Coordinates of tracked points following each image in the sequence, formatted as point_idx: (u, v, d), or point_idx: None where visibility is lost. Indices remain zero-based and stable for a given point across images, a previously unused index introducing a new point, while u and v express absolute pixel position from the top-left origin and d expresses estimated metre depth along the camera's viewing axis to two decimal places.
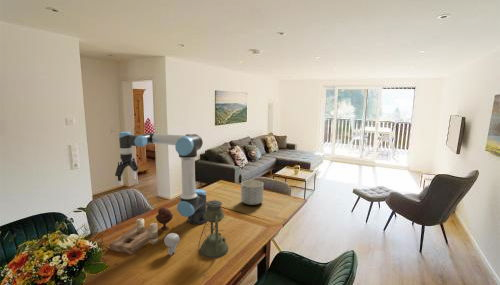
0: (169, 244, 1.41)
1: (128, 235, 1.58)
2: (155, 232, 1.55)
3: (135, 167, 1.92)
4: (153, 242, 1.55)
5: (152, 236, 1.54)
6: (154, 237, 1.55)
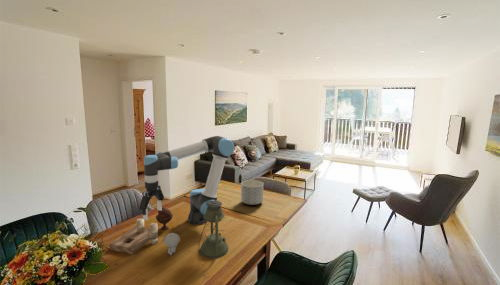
0: (169, 244, 1.41)
1: (128, 235, 1.58)
2: (155, 232, 1.55)
3: None
4: (153, 242, 1.55)
5: (152, 236, 1.54)
6: (154, 237, 1.55)
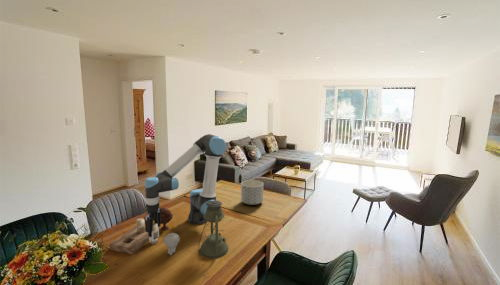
0: (169, 244, 1.41)
1: (128, 235, 1.58)
2: (155, 232, 1.55)
3: None
4: (153, 242, 1.55)
5: None
6: (154, 237, 1.55)
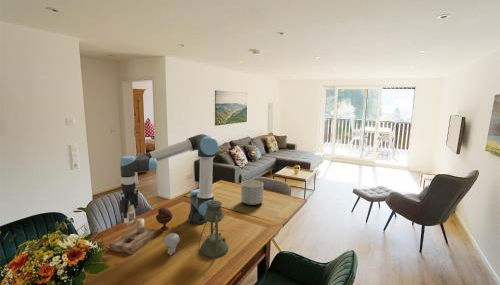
0: (169, 244, 1.41)
1: (128, 235, 1.58)
2: (131, 213, 1.48)
3: None
4: (129, 224, 1.49)
5: None
6: (130, 219, 1.48)
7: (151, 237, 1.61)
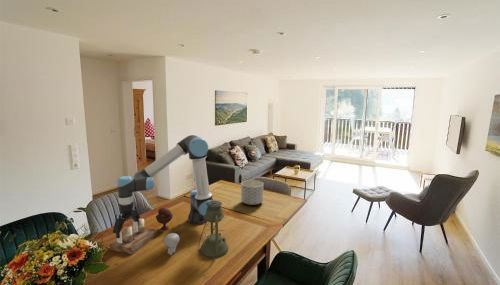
0: (169, 244, 1.41)
1: None
2: (129, 235, 1.50)
3: None
4: None
5: (125, 240, 1.50)
6: (128, 241, 1.50)
7: (151, 237, 1.61)
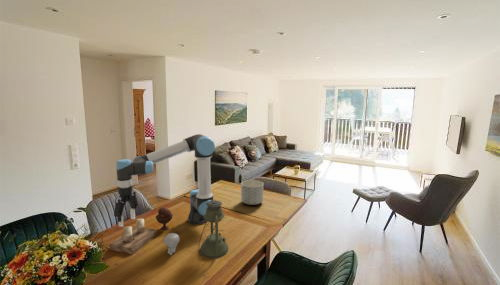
0: (169, 244, 1.41)
1: None
2: (129, 235, 1.50)
3: None
4: None
5: (125, 240, 1.50)
6: (128, 241, 1.50)
7: (151, 237, 1.61)
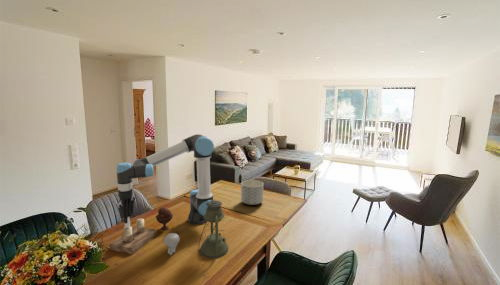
0: (169, 244, 1.41)
1: None
2: (129, 235, 1.50)
3: None
4: None
5: (125, 240, 1.50)
6: (128, 241, 1.50)
7: (151, 237, 1.61)
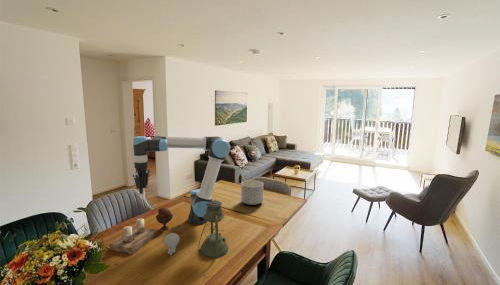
0: (169, 244, 1.41)
1: None
2: (129, 235, 1.50)
3: None
4: None
5: (125, 240, 1.50)
6: (128, 241, 1.50)
7: (151, 237, 1.61)
